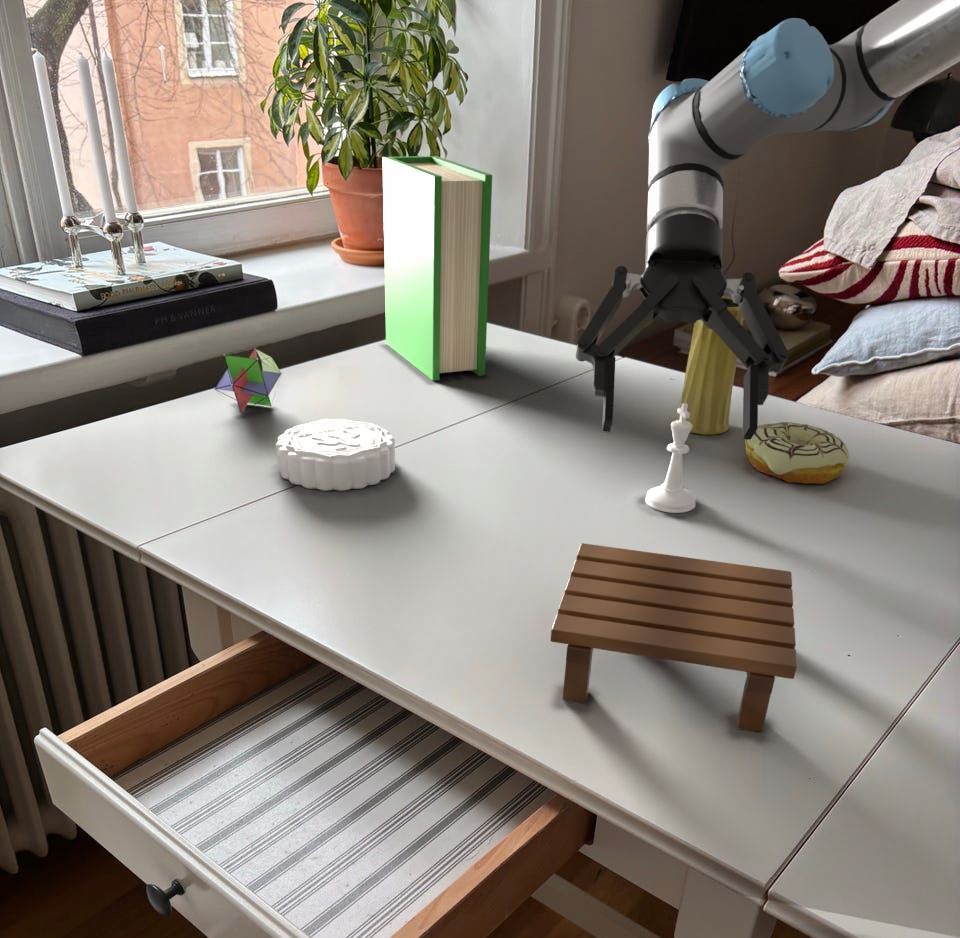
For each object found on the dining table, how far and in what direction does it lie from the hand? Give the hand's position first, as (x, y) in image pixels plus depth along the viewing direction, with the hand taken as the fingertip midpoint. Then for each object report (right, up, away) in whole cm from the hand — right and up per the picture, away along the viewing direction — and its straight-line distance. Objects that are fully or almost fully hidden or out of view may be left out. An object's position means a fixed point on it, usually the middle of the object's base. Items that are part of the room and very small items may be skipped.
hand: (678, 430), depth 95 cm
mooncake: (-34, -3, +8) cm, 35 cm away
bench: (-5, -22, -21) cm, 31 cm away
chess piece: (0, -7, +3) cm, 7 cm away
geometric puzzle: (-46, +7, +22) cm, 51 cm away
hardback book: (-25, +18, +41) cm, 51 cm away
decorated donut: (+14, -2, +12) cm, 19 cm away
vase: (+7, +5, +22) cm, 23 cm away
